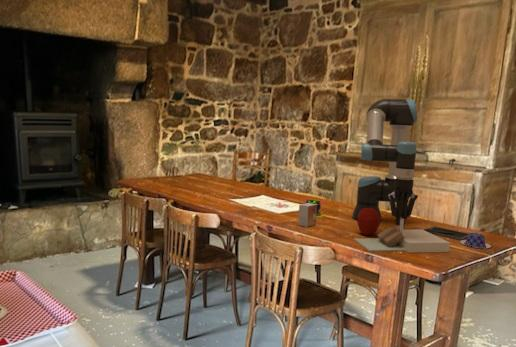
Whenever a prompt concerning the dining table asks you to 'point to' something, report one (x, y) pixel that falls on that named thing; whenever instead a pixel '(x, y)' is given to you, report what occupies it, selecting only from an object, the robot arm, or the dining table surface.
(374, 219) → the dark red rounded piece
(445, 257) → the dining table surface
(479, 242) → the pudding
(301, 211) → the small box
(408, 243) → the cream flat block
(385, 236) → the walnut block
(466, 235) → the picture frame
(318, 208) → the toy cauldron
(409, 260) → the dining table surface
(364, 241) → the mat
